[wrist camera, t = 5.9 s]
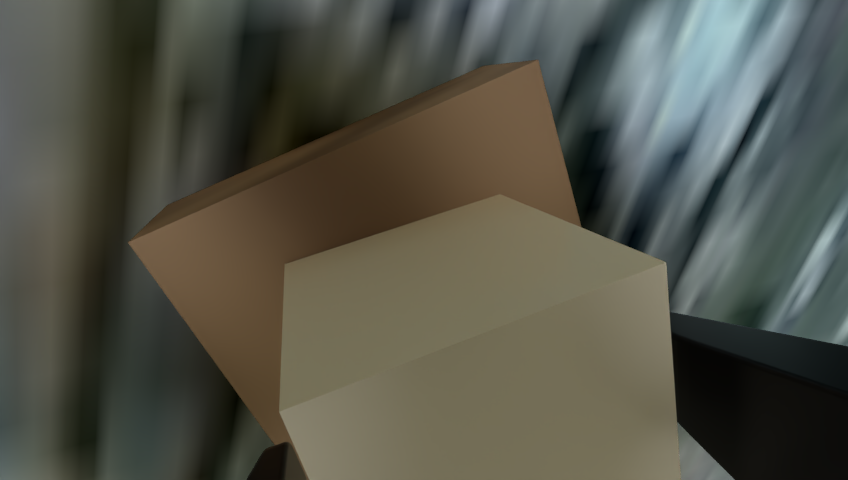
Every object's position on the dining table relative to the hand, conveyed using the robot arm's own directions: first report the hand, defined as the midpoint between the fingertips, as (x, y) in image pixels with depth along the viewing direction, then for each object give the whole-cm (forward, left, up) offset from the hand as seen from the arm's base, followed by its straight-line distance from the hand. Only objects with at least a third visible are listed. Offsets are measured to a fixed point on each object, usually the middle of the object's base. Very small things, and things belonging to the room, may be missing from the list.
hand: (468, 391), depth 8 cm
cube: (0, 0, -3) cm, 3 cm away
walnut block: (0, 0, -6) cm, 6 cm away
